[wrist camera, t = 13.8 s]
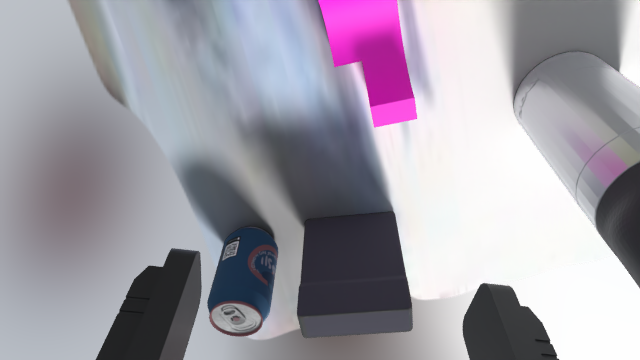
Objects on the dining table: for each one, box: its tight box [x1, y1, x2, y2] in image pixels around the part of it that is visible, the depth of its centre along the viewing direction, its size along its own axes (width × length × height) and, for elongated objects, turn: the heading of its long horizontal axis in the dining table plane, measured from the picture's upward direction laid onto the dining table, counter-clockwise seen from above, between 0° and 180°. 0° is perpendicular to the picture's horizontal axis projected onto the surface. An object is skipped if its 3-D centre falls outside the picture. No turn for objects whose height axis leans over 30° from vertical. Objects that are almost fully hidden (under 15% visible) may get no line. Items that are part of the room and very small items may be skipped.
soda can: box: [208, 227, 278, 336], centre depth 52 cm, size 7×7×12 cm
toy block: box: [319, 0, 417, 127], centre depth 38 cm, size 15×6×8 cm, turn 14°
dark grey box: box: [297, 212, 413, 338], centre depth 49 cm, size 11×4×15 cm, turn 98°
